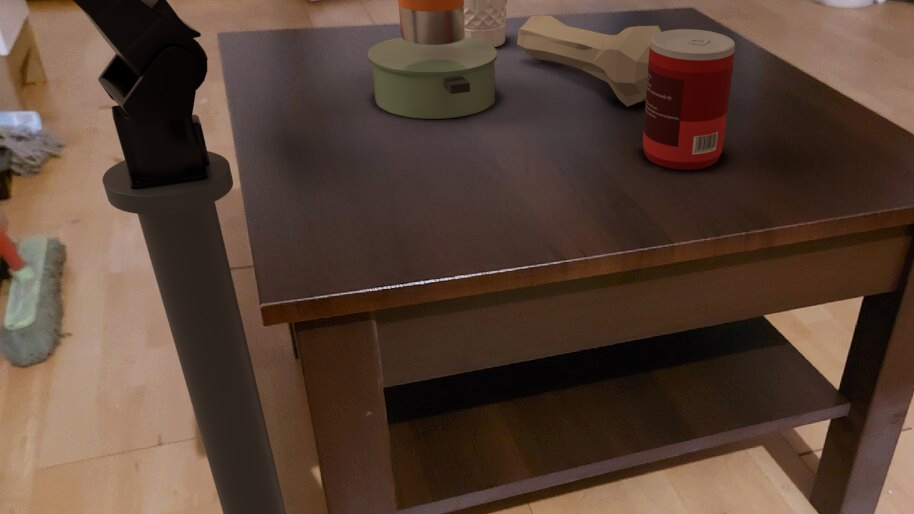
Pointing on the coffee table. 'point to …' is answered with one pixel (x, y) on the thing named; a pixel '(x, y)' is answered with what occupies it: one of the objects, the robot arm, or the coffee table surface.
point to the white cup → (485, 20)
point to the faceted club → (594, 53)
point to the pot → (433, 78)
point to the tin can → (432, 21)
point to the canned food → (687, 97)
